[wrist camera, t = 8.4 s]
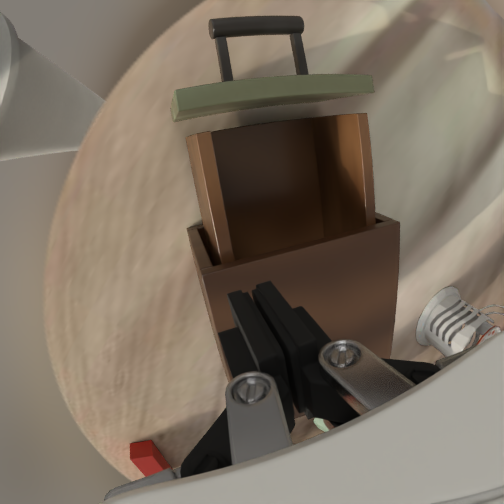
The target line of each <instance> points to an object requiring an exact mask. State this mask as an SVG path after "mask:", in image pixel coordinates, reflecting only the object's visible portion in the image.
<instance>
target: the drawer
mask: <svg viewBox="0 0 504 504" xmlns="http://www.w3.org/2000/svg"><path fill="white" fill-rule="evenodd" d="M303 31H304V21H303V19H302V18H301V17H300V16H245V17H229V18H217V19H210V20H209V34H210V37H211V39H215V43H216V49H217V55H218V61H219V67H220V73H221V78H222V82H219V83H212V84H206V85H200V86H194V87H188V88H183V89H178V90H175V91H174V95H173V100H172V104H171V114H172V119H173V122H178V121H182V120H187V119H192V118H198V117H203V116H208V115H214V114H220V113H226V112H232V111H239V110H246V109H253V108H261V107H269V106H278V105H288V104H300V103H313V102H321V101H327V100H332V99H338V98H343V97H350V96H356V95H362V94H369V93H374V86H373V79H372V76H371V75H356V74H313V75H308V69H307V64H306V58H305V53H304V48H303V43H302V38H301V34H302V33H303ZM255 35H290V40H291V45H292V51H293V56H294V61H295V67H296V73H297V75H289V76H274V77H262V78H252V79H242V80H234V81H233V75H232V69H231V64H230V58H229V52H228V46H227V41H226V38H228V37H240V36H255ZM186 141H187V147H188V152H189V157H190V162H191V168H192V173H193V178H194V183H195V188H196V192H197V197H198V202H199V207H200V212H201V216H202V221H203V226H204V230H205V235H206V240H207V244H208V249H209V253H210V257H211V262H212V265H213V266H217V265H221V264H225V263H229V262H232V261H236V260H240V259H244V258H248V257H252V256H256V255H259V254H263V253H267V252H271V251H275V250H279V249H282V248H286V247H290V246H294V245H298V244H302V243H305V242H309V241H313V240H317V239H321V238H324V237H328V236H332V235H336V234H340V233H343V232H347V231H351V230H355V229H359V228H362V227H366V226H370V225H374V224H376V222H375V196H374V179H373V165H372V153H371V143H370V133H369V125H368V116H367V113H357V114H344V115H333V116H323V117H313V118H303V119H294V120H285V121H277V122H269V123H262V124H255V125H248V126H242V127H236V128H230V129H224V130H219V131H213V132H210V131H207V132H202V133H197V134H194V135H191V136H188V137H186Z"/></svg>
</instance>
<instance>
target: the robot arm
mask: <svg viewBox="0 0 504 504" xmlns="http://www.w3.org/2000/svg"><path fill="white" fill-rule="evenodd" d="M252 296H253V300H252V298H251V296H250V295H249V293H248V292H244V293H243V292H242V290H237V291H234V292H231V293H227V298H228V302H229V306H230V309H231V313H232V317H233V320H234V324H235V328H232V329H228V330H225V331H222V332H219V333H218V336H219V339H220V342H221V345H222V348H223V351H224V354H225V357H226V360H227V363H228V366H229V369H230V372H231V375H232V377H233V379H232V380H231V381H230V382H229V384H228V385H227V387H226V392H225V396H226V408H225V410H224V411H223V412H222V414H221V415H220V416H219V417H218V419H217V420H216V421H215V422H214V424H213V425H212V426H211V428H210V429H209V430H208V431H207V433H206V434H205V435H204V436H203V438H202V439H201V440H200V441H199V442H198V444H197V445H196V446H195V447H194V449H193V450H192V451H191V452H190V453H189V455H188V456H187V457H186V458H185V460H184V462H183V463H182V465H181V467H179V468H176V469H174V470H172V469H171V468H167V469H165V470H162V471H160V472H157V473H155V474H152V475H149V476H147V477H144V478H141V479H139V480H136V481H133V482H130V483H127V484H124V485H121V486H118V487H116V488H114V489H112V490H110V491H109V492H108V493H107V495H106V496H105V498H104V501H103V502H101V503H99V504H504V330H503V331H501V332H499V333H497V334H495V335H493V336H492V337H490V338H488V339H487V340H485V341H483V342H482V343H480V344H479V345H475V346H473V347H470V348H468V349H466V350H463V351H461V352H458V353H456V354H453V355H451V356H448V357H445V358H443V359H440V360H437V361H436V364H435V365H433V364H431V363H426V362H414V361H404V360H393V359H384V358H380V357H378V356H377V355H376V354H374V353H373V352H372V351H370V350H369V349H367V348H366V347H365V346H363V345H362V344H361V343H359V342H357V341H355V340H351V339H338V340H334V341H332V340H331V339H330V338H329V337H328V336H327V334H326V333H325V332H324V331H323V330H322V328H321V327H320V326H319V325H318V324H317V323H316V321H315V320H314V319H313V318H312V317H311V316H310V314H309V313H308V312H307V311H306V310H305V309H304V308H303V307H302V306H299V307H296V308H293V309H292V307H291V306H290V305H289V304H288V302H287V301H286V300H285V298H284V297H283V296H282V295H281V293H280V292H279V291H278V290H277V288H276V287H275V286H274V284H273V283H272V282H271V281H267V282H263V283H260V284H257V285H256V289H254V290H252ZM293 404H294V406H295V408H296V410H297V411H298V413H299V414H300V413H302V412H304V413H305V415H306V416H307V418H308V419H311V418H313V417H315V418H319V419H323V422H324V424H325V426H326V427H327V428H328V429H329V431H327V432H324V433H322V434H320V435H317V436H315V437H313V438H310V439H308V440H305V441H303V442H300V443H297V444H295V445H293V444H292V440H291V437H290V433H291V432H292V430H293V428H294V426H295V420H294V416H295V412H294V406H293Z"/></svg>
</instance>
